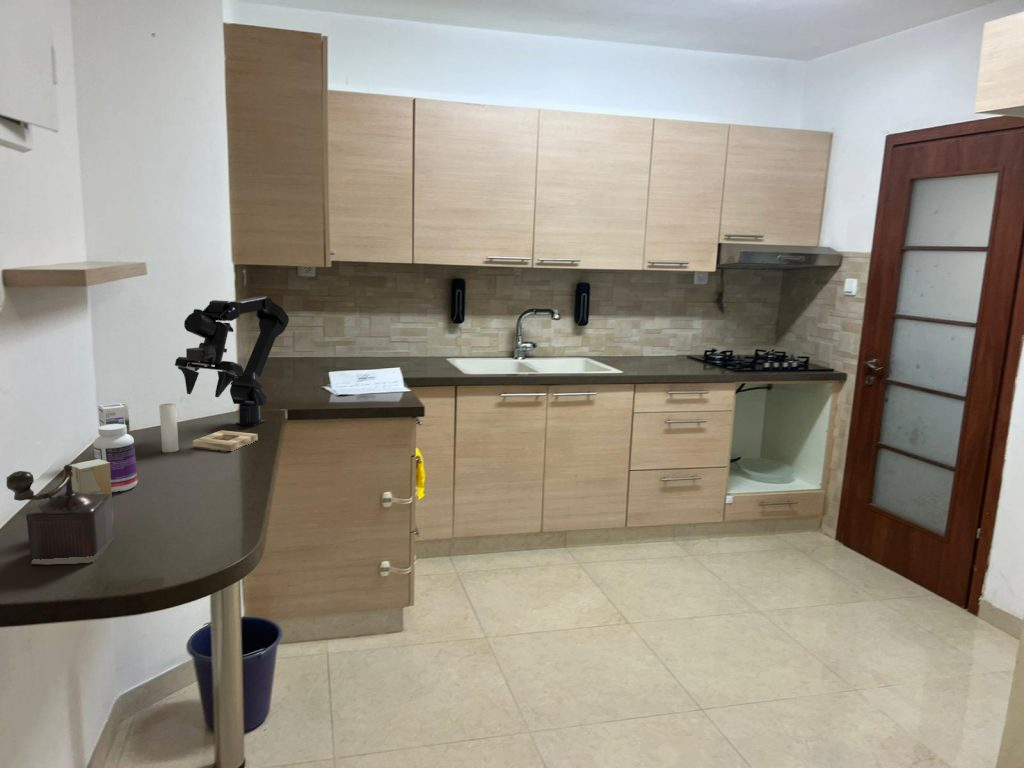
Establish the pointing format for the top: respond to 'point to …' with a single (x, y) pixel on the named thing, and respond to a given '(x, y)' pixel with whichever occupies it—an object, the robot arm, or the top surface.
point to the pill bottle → (117, 455)
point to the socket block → (225, 440)
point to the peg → (168, 427)
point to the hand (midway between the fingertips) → (202, 395)
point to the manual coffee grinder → (64, 518)
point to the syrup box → (114, 415)
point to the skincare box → (92, 477)
